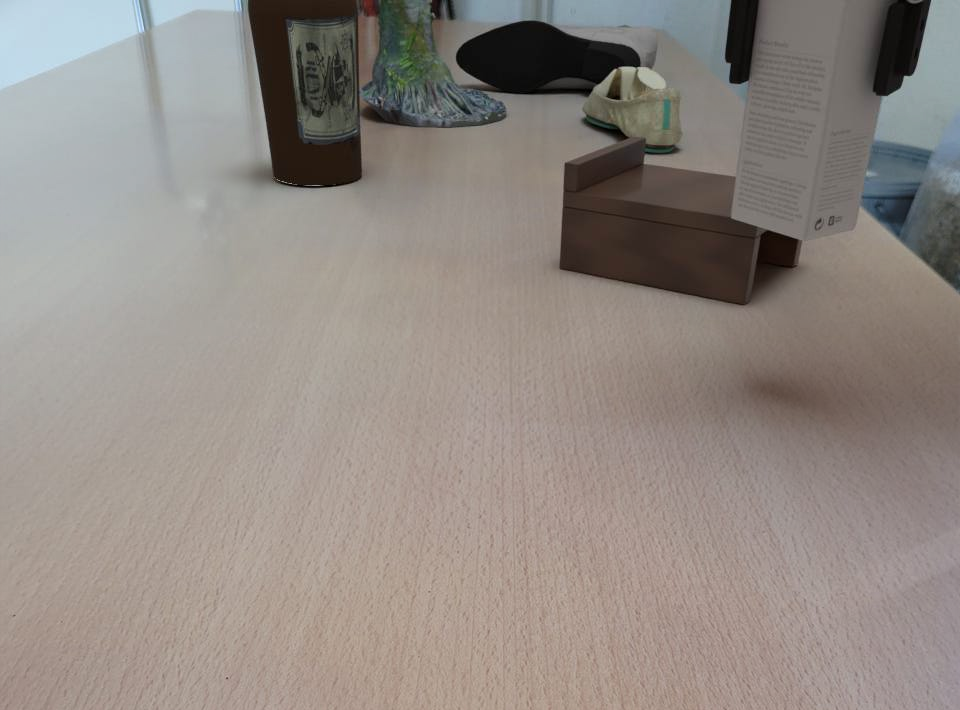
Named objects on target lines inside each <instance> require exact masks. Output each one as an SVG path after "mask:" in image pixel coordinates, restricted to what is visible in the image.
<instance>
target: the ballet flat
mask: <svg viewBox="0 0 960 710" xmlns="http://www.w3.org/2000/svg"><path fill="white" fill-rule="evenodd" d="M647 88H649V89H647ZM681 97H682V96H681V92H680V90H679V89H678V88H675V87H667V82H666V80H665V79H664V78H663V77H662V75H661V74H659V73H658V72H657V71H654V70H652V69H651V70H650V69H649V68H646V67H637V68H635V67H619V68H618V69H614V70H613V71H612V72H611V73H610V74H609V75H608V76H607V77H606V78H605V80H604V81H603V82H601V83H600V84H599V85H597V86H595V87H594V89H592V91H591V93H590V94H589V95H588V97H587V98H586V100H585V101H584V103H583V104H582V107H581V109H582V113H584V114H585V119H586V120H587V121H588V122H589V123H591V124H593V125H596V126H598V127H601V128H605V129H609V130H620V131H621V132H622V133H623V134H624V136H626V137H627V139H629V138H631V137H634V136H635V137H642V138H646V145H645V153H651V154H666V153H671V152H672V151H673V150H674V148H675V145H676V144H678V143H679V142H680V141H681V140H682V137H683V131H682V124H681V123H682V122H681V118H680V105H681Z"/></svg>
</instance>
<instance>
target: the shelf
mask: <svg viewBox="0 0 960 710" xmlns="http://www.w3.org/2000/svg"><path fill="white" fill-rule="evenodd" d="M645 145H646V138H642V137H635V136H634V137H631V138H626V139H623V140H621V141H618V142H615V143H613V144H610V145H608V146H605V147H603V148H600V149H596V150H595V151H591V152H589V153H587V154H584V155H582V156H579V157H577V158H574V159H571V160H568V161H566V162H564V166H563V167H564V169H563V184H562V185H563V187H562V188H563V189H562V190H563V191H562V210H561V211H562V212H561V229H560V249H559V269H562V270H568V271H573V272H578V273H583V274H587V275H588V274H589V275H593V276H598V277H601V278H608V279H613V280H618V281H622V282H627V283H633V284H638V285H642V286H648V287H653V288H658V289H662V290H667V291H668V290H669V291H674V292H677V293H683V294H688V295H693V296H698V297H702V298H703V297H704V298H709V299H714V300H717V301H722V302H729V303H734V304H739V305H746V304H748V302H750V301H751V297H752V290H753V285H754V279H755V274H756V273H755V272H756V267H757V262H758V263H759V262H760V263H765V264H769V263H772V264H771V265H775V264H777V265H776V266H781V265H784V266H783V267H786V266H790V267H789V268H792V267H793V268H795V267H796V266H797V265H798V264H799V261H800V255H801V249H802V244H803V240H799V239H796V238H793V237H790V236H786V235H783V234H780V233H777V232H773V231H770V230H767V229H764V228H761V227H757V226H754V225H751V224H748V223H745V222H741V221H738V220H735V219H732V218H731V211H732V203H733V195H734V187H735V179H736V175H727V174H721V173H720V174H719V173H712V172H705V171H699V170H691V169H685V168H684V169H683V168H677V167H669V166H663V165H662V166H661V165H657V164H656V165H655V164H649V163H645V156H646V155H645V154H646V152H645ZM796 264H797V265H796ZM795 265H796V266H795ZM791 266H792V267H791ZM794 266H795V267H794Z"/></svg>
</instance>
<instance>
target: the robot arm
mask: <svg viewBox="0 0 960 710" xmlns="http://www.w3.org/2000/svg"><path fill="white" fill-rule="evenodd" d="M758 2H759V0H730V5H729V13H728V24H727V31H726V39H725V41H726V42H725V50H724V61H725V63H726V64H730V65H729V73H728V82H729V84H730V85H731V84H732V85H742V84H744V83H746V82H747V83H748V80H749V73H750V65H751V57H752V49H753V41H754V34H755V26H756V17H757V9H758ZM931 4H932V0H898V2H895V3H893V5H890V7H889V9H888V13H887V18H886V23H885V28H884V33H883V38H882V44H881V49H880V54H879V59H878V64H877V69H876V74H875V79H874V84H873V92H875V93H876V96H882V97H889V96H890V95H891V94H893V93H895V92H896V91H898V90H900V89H901V88H902V86H903V84H904V79H905V77H912V76H913V75H914V73H915V72H916V69H917V66H918V62H919V58H920V54H921V49H922V46H923V40H924V36H925V30H926V27H927V21H928V17H929V12H930V8H931Z"/></svg>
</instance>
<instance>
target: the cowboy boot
mask: <svg viewBox="0 0 960 710" xmlns="http://www.w3.org/2000/svg"><path fill="white" fill-rule="evenodd" d="M658 41H659V40H658V36H657V33H656V32H655V29H653V28H651V27H650V26H645V25H644V26H643V25H642V26H634V27H632V26H630V25H628V24H623V25H619V26H618V25H617V26H594V27H592V26H591V27H585V28H580V29H579V28H578V29H573V28H567V27H562V26H556V25H552V24H551V23H548V22H545V21H540V20H534V19H532V20H520V21H515V22H511V23H508V24H505V25H502V26H499V27H495V28H493V29H489V30H488V31H485V32H483V33H481V34H479V35H476V36H474V37H472V38H470V39H468V40H466V41H465V42H463V43H462V45H460V47H458V50H457V51H456V54H455V62H456V64H457V66H458V67H459V68H460V69H461V70H462V71H463V72H464V73H466V74H468V75H469V76H471V77H473V78H474V79H476V80H478V81H480V82H482V83H483V84H486V85H488V86H490V87H492V88H494V89H497V90H499V91H503V92H507V93H511V94H528V93H531V92H534V91H536V90H538V89H539V90H541V89H544V90H545V89H547V90H548V89H559V90H560V89H561V90H564V89H565V90H570V89H575V90H593V89H594V87H595V86H597V85H599V84H600V83H601V82H603V81H604V80H605V78H606V77H607V76H608V75H609V74H610V73H611V72H612V71H613V70H614V69H618V68H619V67H635V68H637V67H646V68H649V69H650V70H652V69H653V67H654V66H655V64H656V59H657V52H658V43H659V42H658Z"/></svg>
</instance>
